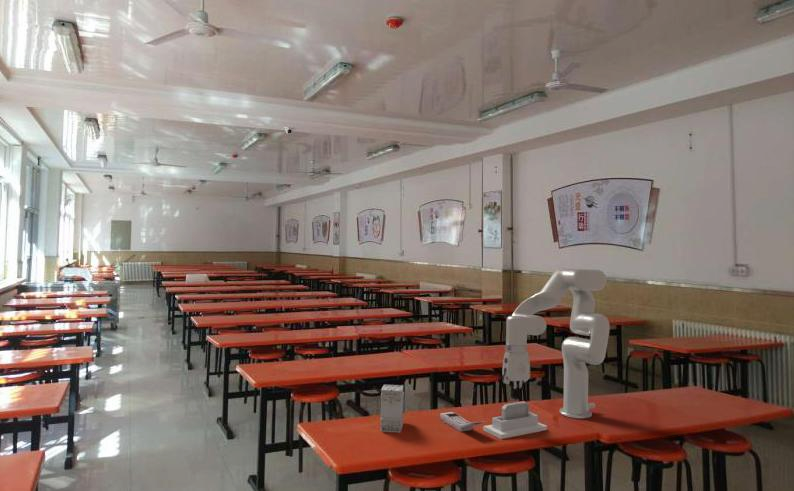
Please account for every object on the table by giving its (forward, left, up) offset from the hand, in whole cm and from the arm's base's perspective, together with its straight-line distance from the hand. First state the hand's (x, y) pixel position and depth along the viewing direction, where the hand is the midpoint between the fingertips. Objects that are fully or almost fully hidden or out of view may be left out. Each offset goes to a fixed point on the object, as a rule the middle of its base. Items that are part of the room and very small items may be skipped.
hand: (515, 398), depth 188 cm
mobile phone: (+17, -12, -12) cm, 24 cm away
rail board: (0, 0, -12) cm, 12 cm away
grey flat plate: (0, 0, -10) cm, 10 cm away
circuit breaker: (+39, -24, -12) cm, 47 cm away
